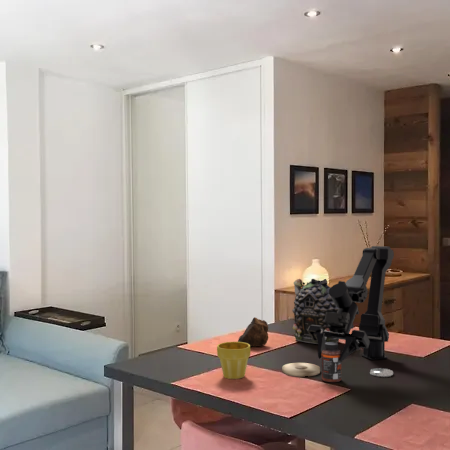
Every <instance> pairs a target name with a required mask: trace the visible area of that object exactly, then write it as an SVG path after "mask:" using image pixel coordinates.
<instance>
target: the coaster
mask: <svg viewBox="0 0 450 450" xmlns="http://www.w3.org/2000/svg"><path fill="white" fill-rule="evenodd" d="M281 368H282V369H281V370H282V371H281V372H282V373H283V374H285V375H287V376H291V377H300V378H301V377H303V378H306V377H305V376H308V377H315V376H317V375H319V374H321V367H320V366H319V365H316V364H314V363H307V362H292V363H286V364H284V365H282V367H281Z"/></svg>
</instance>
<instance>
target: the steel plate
mask: <svg viewBox="0 0 450 450" xmlns="http://www.w3.org/2000/svg"><path fill="white" fill-rule="evenodd" d="M369 374H370V375H372V376H374V377H380V378H389V377H390V378H391V377H392V376H394V371H393V370H391V369H389V368H382V367H379V368H378V367H377V368H371V369H370V370H369Z"/></svg>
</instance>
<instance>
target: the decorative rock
mask: <svg viewBox="0 0 450 450" xmlns="http://www.w3.org/2000/svg"><path fill="white" fill-rule="evenodd" d="M268 332H269V325H268V322H267V321H266V320H264V319H263V320H262V319H259V318H258V317H253V318H252V320H251V322H250V323H249V324H248V325H247V326H246V329H245V330H244V332H243V333H242V334H241V335H240V336H239V338H238V339H237V342H244V343H248V344H249V345H250V347H254V348H255V347H259V346H261V347H262V346H266V345H267V342H268V340H269V333H268Z"/></svg>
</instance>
